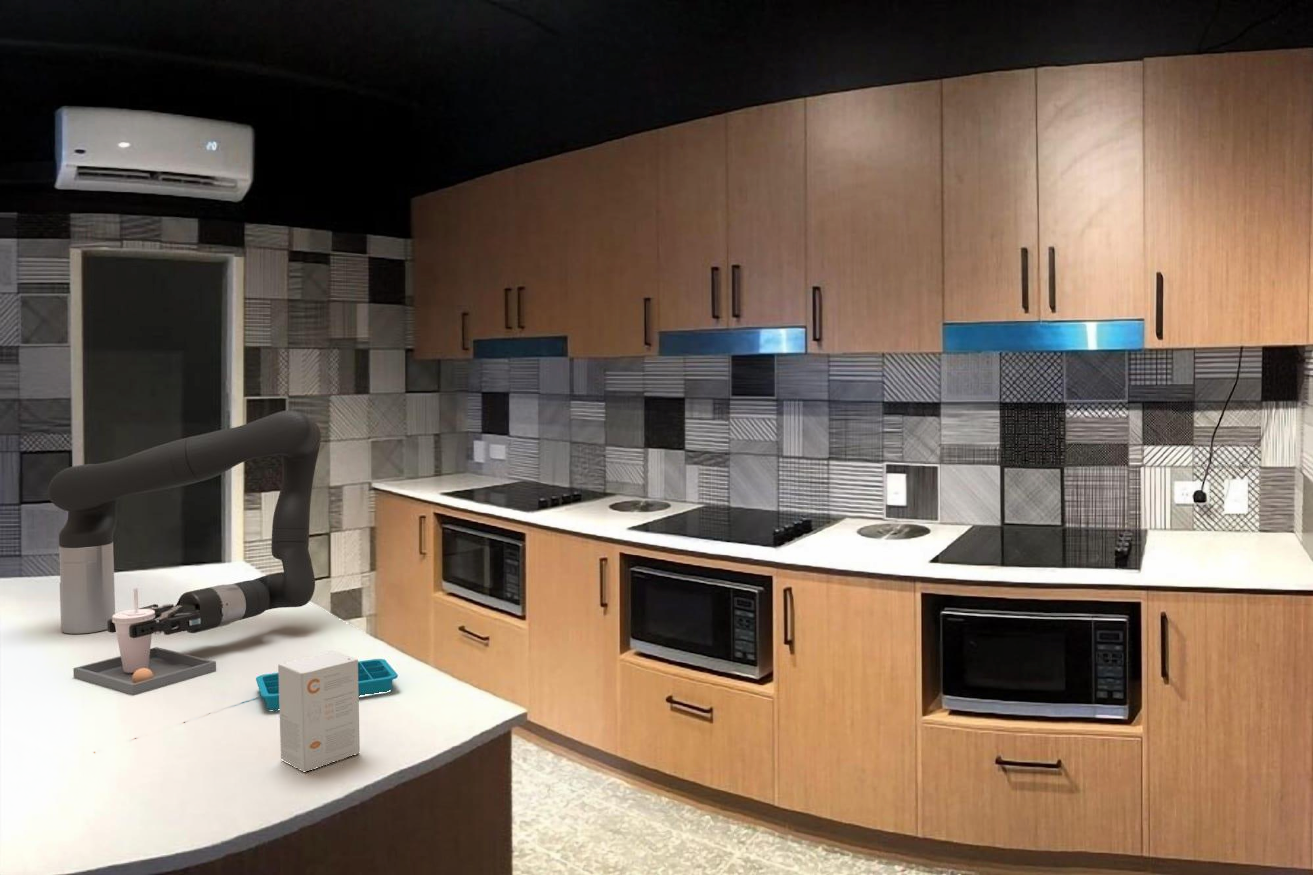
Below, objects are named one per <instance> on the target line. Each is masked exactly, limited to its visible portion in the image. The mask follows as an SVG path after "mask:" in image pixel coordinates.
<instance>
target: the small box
mask: <svg viewBox="0 0 1313 875" xmlns="http://www.w3.org/2000/svg"><path fill="white" fill-rule="evenodd" d="M358 661H359V659H357V658H355V657H353V656H350V655H348V654H345V653H341V652H338V651H335V650H331V651H327V652H326V651H325V652H323V653H319V654H315V655H310V656H307V657H302V658H299V659H295V660H290V661H287V662H283V663H278V665H277V668H278V669H277V670H278V671H277V673H278V675H279V709H280V711H279V734H280V735H279V736H280V737H279V738H280V743H279V744H280V760H281V759H283V760H284V761H286V762H288V763H290V764H291V765H293V766H295V767H297V768H298V769H301V770H302V771H309V770H311V769H314V768H316V767H320V766H322V765H326V764H328V763H331V762H333V761H337V762H339V761H338V760H340V759H343V758H346V757H349V756H351V755H354V754H358V753H359V752H361V750H360V748H361V747H360V703H359V702H360V700H359V699H360V698H359V694H358ZM358 755H359V754H358ZM349 758H350V757H349ZM346 759H347V758H346ZM343 760H344V759H343ZM340 761H341V760H340ZM326 766H327V765H326ZM320 768H321V767H320ZM298 769H297V770H298ZM309 772H310V771H309Z"/></svg>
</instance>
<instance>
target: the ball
mask: <svg viewBox="0 0 1313 875" xmlns="http://www.w3.org/2000/svg"><path fill="white" fill-rule="evenodd" d="M152 678H153V673H152V671H151V670H149V669H147V668H141V669H138V670H137V671H135V673H134V674H133V676H132V682H133V683H138V682H141V681H145V680H148V679H152Z"/></svg>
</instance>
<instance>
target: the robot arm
mask: <svg viewBox="0 0 1313 875" xmlns="http://www.w3.org/2000/svg"><path fill="white" fill-rule="evenodd" d="M321 441H322V432H321V429H320V427H319V425H318V423H317V422H316V421H314V420H313V419H312V418H310V417H309V416H308V415H307V414H305V413H302V412H301V411H298V410H292V409H290V410H286V409H285V410H282V411H279V412H276V413H275V412H274V413H272V414H270V415H267V416H264V417H262V418H259V419H257V420H254V421H251V422H247V423H245V424H242V425H239V426H235V427H231V428H225V429H220V430H215V431H212V432H211V431H210V432H207V433H203V434H199V435H193V436H189V437H185V438H180V439H178V440H176V439H175V440H173V441H170V442H167V443H164V444H160V445H157V446H153V447H151V448H148V449H145V450H142V451H139V452H136V453H134V454H131V455H128V456H126V457H123V458H119V459H116V460H111V461H106V462H100V463H96V464H95V463H86V464H82V465H81V464H79V465H75V466H74V465H73V466H69V467H67V468H64V469H62V470H61V471H59V472H58V473H57V474H55V476H54V477H52V479H51V481H50V482H49V485H48V487H47V495H48V499H49V501H50V502H51V503H52V504H53V505H54V506H55V507H56V508H58V509H60V510H63V511H65V512H67V519H66V522H65V524H64V526H63V528H62V529H61V531H60V532H59V533H58V550H59V551H58V552H59V578H60V579H59V580H60V582H59V602H60V606H59V607H60V628H61V632H62V633H65V634H74V635H75V634H88V633H89V634H90V633H95V632H96V633H97V632H101V631H106V630H107V632H108V633H111V634H113V633H116V628H115V623H113V622H112V616H113V615H114V614H116V596H115V592H116V590H115V589H116V588H115V564H114V563H115V562H114V561H115V560H114V559H115V558H114V533H115V530H116V527H117V521H118V499H121V498H123V497H127V496H130V495H135V494H143V493H150V492H151V493H152V492H156V491H163V490H169V489H173V488H178V487H184V486H187V485H188V486H189V485H193V484H196V483H199V482H205V481H207V480H210V479H213V478H215V477H218V476H220V475H222V474H223V473H225V472H228V471H229V470H231V469H233V468H234V467H236V466H237V465H239V464H242V463H243V462H244V463H245V462H248V461H251V460H255V459H260V458H265V457H270V456H277V455H280V456H281V464H282V477H281V478H282V479H281V486H280V491H279V494H278V498H277V501H276V504H275V508H274V512H273V518H272V527H271V544H270V546H271V551H270V552H271V555H272V557H273V558H275V559H277V560H279V561H281V563H282V564H281V565H282V569H283V572H282V571H281V572H275V573H272V574H271V573H269V574H267V575H263V576H260V577H257V578H253V579H251V580H249V579H248V580H243V581H238V582H235V583H230V584H220V585H219V584H218V585H213V586H209V587H204V588H201V589H199V588H198V589H194V590H190V591H186V592H184V593H182V594H181V595H180V597H179V598H178V600H177V603H176V604H175V605H174V603H168V604H167V603H166V604H162V605H161V606H159V604H156V603H153V604H151V605H147V606H142V607H140V608H139V607H138V609H151V610H154V611H155V618H153V620H149V621H145V622H141V623H136V624H132V625H130V627H129V636H130V637H131V638H137V637H141V636H145V635H149V634H153V635H160V634H161V635H162V634H164V635H166V636H169V635H173V634H177V633H182V632H187V633H190V634H197V633H201V632H204V631H208V630H213V629H215V628H216V629H217V628H219V627H220V628H221V627H223V626H228V625H230V624H232V623H234V622H238V621H241V620H246V619H249V618H253V617H257V616H259V615H261V614H263V613H264V612H266V611H269V610H274V609H281V608H299V607H304V606H306V605H307V604H308V603H310V601H311V599H312V598H313V596H314V594H315V589H316V578H315V572H314V569H313V564H312V560H311V559H312V558H311V556H310V552H309V550H310V549H309V546H310V545H309V544H310V525H311V523H310V522H311V520H310V519H311V518H310V517H311V502H312V501H311V500H312V490H313V484H314V478H315V477H314V476H315V473H316V472H315V471H316V466H317V461H318V457H319V452H320V447H321Z"/></svg>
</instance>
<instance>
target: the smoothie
mask: <svg viewBox="0 0 1313 875" xmlns="http://www.w3.org/2000/svg"><path fill="white" fill-rule="evenodd" d="M138 593H139V592H138V587H135V588H133V604H134V605H133V606H134V609H128V610H122V611H119V612H115V614H114V615H113V616H112V622H113V623H115V628H116V632H115V633H116V638H117V643H118V649H119V654H120V656H121V660H122V666H123V671H124V672H127V673H132V672H135V671H137V670H138V669H141V668H147V669H148V667H149V656H150V649H151V645H152V637H153V636H152V634H149V635H145V636H141V637H137V638H131V637H130V636H129V627H130V625H132V624H136V623H141V622H145V621H149V620H153V618H155V611H154V610H151V609H139V594H138Z"/></svg>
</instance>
